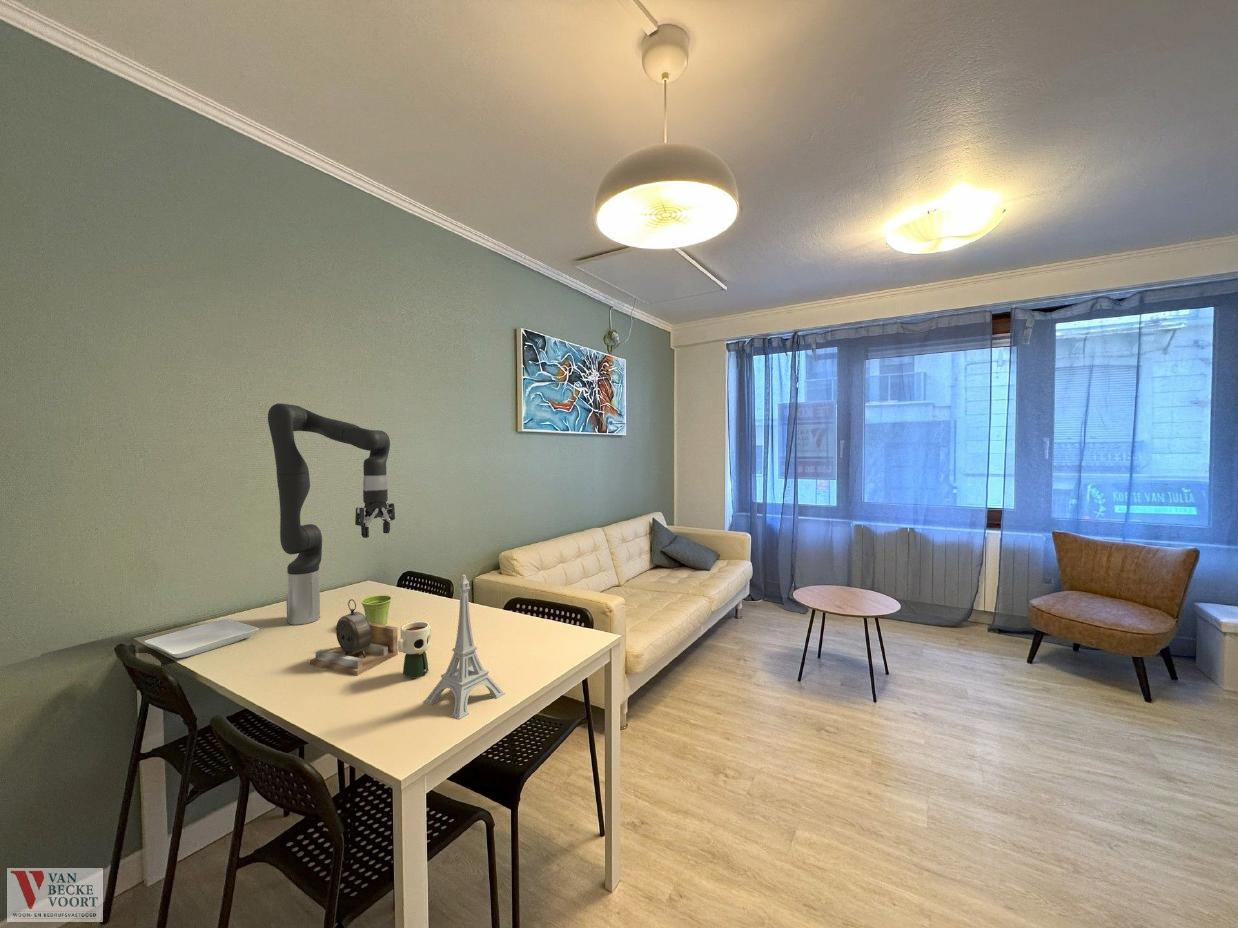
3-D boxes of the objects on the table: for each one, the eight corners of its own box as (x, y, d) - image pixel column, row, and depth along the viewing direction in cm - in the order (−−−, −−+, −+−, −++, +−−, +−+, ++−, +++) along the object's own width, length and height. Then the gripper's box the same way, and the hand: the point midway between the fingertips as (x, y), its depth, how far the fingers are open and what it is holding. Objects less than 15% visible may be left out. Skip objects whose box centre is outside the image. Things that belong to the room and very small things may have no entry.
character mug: (409, 686, 120) (409, 635, 119) (389, 680, 123) (388, 631, 122) (441, 667, 130) (440, 621, 130) (421, 663, 133) (420, 617, 132)
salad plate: (142, 650, 142) (141, 639, 141) (227, 626, 160) (226, 616, 160) (174, 665, 132) (173, 653, 132) (260, 638, 151) (260, 627, 150)
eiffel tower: (470, 679, 124) (469, 565, 123) (505, 694, 116) (504, 573, 115) (423, 701, 113) (422, 577, 112) (459, 720, 105) (457, 586, 104)
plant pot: (398, 620, 166) (397, 595, 166) (382, 630, 156) (381, 604, 156) (372, 619, 167) (372, 594, 166) (355, 629, 157) (354, 603, 157)
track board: (309, 664, 132) (309, 635, 132) (352, 645, 145) (351, 619, 144) (357, 675, 126) (356, 645, 125) (397, 654, 138) (397, 627, 138)
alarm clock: (373, 656, 134) (372, 599, 134) (354, 663, 130) (353, 605, 129) (351, 648, 140) (350, 593, 139) (332, 654, 135) (331, 598, 135)
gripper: (384, 486, 171) (384, 531, 171) (348, 489, 157) (349, 538, 158) (400, 487, 168) (400, 532, 168) (365, 490, 155) (366, 539, 155)
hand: (376, 535), depth 163 cm, fingers open, 8 cm apart
